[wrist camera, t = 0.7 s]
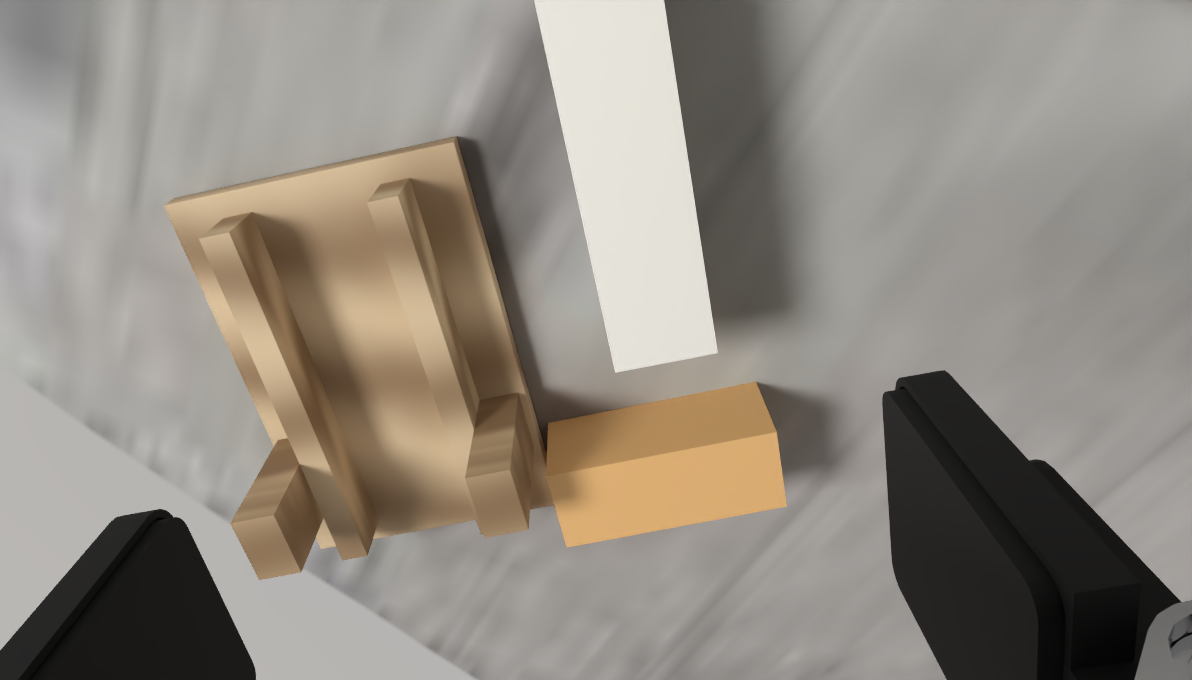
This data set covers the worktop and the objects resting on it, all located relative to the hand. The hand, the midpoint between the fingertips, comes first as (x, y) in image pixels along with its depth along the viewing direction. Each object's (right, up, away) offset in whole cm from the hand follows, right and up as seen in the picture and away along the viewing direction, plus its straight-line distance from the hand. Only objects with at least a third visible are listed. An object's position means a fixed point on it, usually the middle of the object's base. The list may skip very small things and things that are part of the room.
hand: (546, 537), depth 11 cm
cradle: (-9, +2, +27) cm, 28 cm away
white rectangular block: (+2, +10, +23) cm, 25 cm away
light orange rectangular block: (+4, -2, +29) cm, 30 cm away
